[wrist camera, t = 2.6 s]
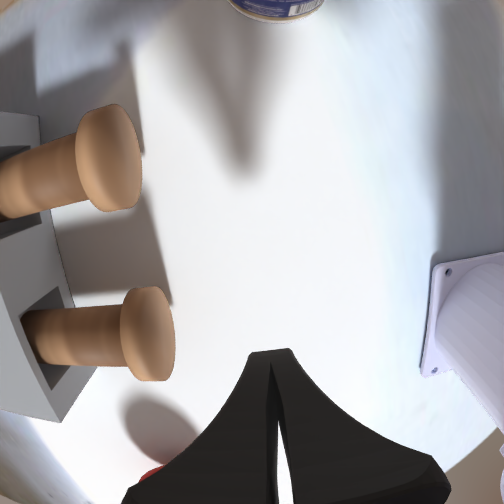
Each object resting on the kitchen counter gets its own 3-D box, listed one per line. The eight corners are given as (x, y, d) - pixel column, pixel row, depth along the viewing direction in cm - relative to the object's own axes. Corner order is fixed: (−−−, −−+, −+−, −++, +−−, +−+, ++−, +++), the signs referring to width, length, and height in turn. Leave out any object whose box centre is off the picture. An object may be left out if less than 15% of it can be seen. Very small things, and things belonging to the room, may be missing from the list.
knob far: (161, 273, 15) (132, 311, 11) (180, 348, 17) (162, 400, 12) (41, 286, 16) (-3, 317, 12) (64, 350, 17) (30, 390, 13)
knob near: (135, 111, 13) (93, 95, 9) (147, 200, 14) (109, 216, 10) (14, 152, 14) (-39, 156, 9) (26, 227, 15) (-25, 247, 11)
